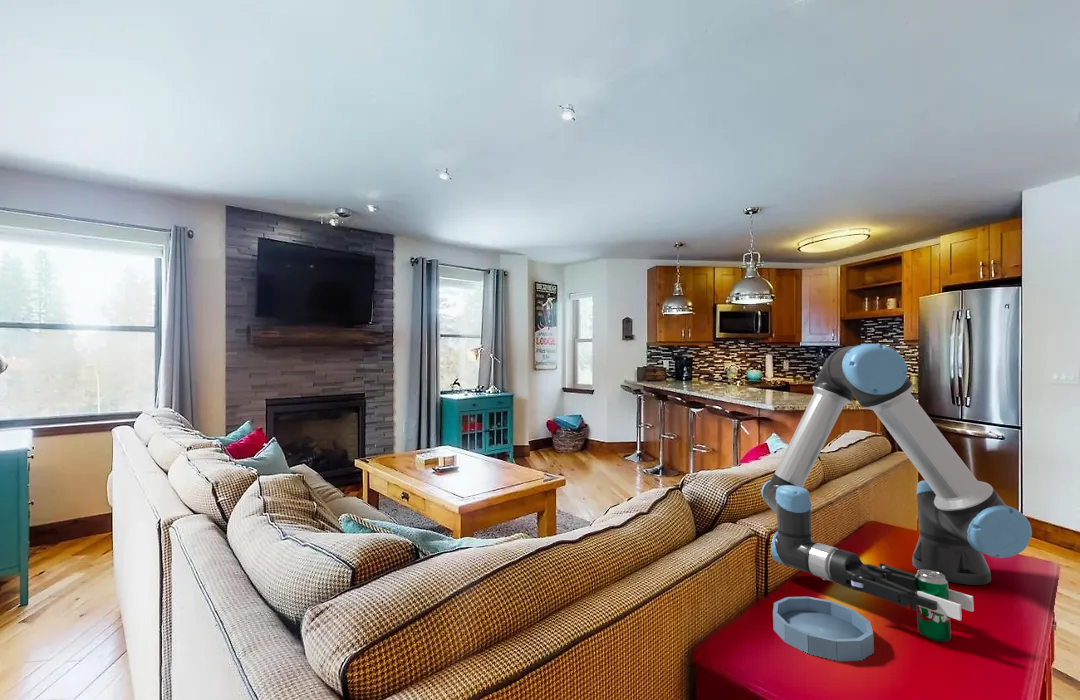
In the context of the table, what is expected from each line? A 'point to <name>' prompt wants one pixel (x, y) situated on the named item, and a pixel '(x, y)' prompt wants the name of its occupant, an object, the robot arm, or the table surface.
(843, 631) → the bowl
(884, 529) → the table surface
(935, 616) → the soda can
